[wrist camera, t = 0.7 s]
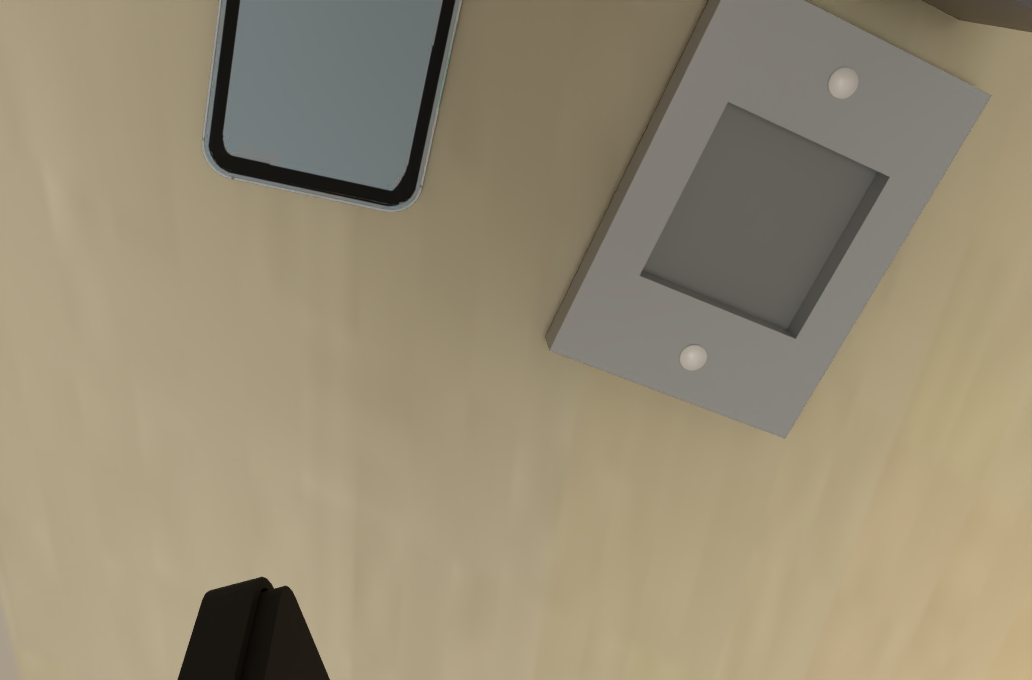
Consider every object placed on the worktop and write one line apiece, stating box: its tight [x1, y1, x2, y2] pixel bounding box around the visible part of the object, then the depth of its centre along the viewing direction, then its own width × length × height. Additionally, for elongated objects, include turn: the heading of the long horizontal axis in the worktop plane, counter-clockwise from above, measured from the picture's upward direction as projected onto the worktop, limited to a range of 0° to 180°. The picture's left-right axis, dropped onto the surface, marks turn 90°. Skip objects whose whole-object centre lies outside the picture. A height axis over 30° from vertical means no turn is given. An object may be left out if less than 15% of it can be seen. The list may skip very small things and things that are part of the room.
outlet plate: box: [545, 0, 992, 438], centre depth 34 cm, size 14×10×1 cm
